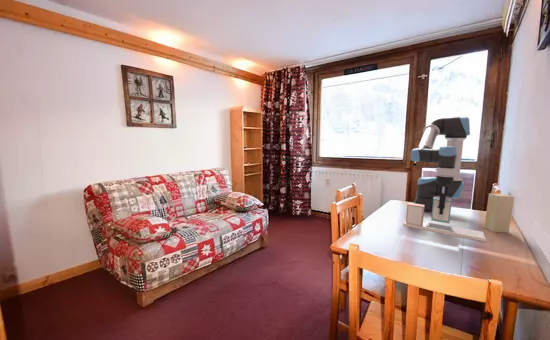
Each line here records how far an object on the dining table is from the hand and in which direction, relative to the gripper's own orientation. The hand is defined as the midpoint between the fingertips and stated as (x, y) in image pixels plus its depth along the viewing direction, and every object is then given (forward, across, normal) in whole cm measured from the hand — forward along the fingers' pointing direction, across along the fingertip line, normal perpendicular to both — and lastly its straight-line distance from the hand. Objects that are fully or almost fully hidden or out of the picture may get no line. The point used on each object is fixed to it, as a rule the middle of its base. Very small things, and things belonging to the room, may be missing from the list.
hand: (440, 218), depth 133 cm
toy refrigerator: (+8, -20, +25) cm, 33 cm away
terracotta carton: (+6, 0, -12) cm, 14 cm away
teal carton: (+1, 0, 0) cm, 1 cm away
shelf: (+8, -3, +1) cm, 8 cm away
